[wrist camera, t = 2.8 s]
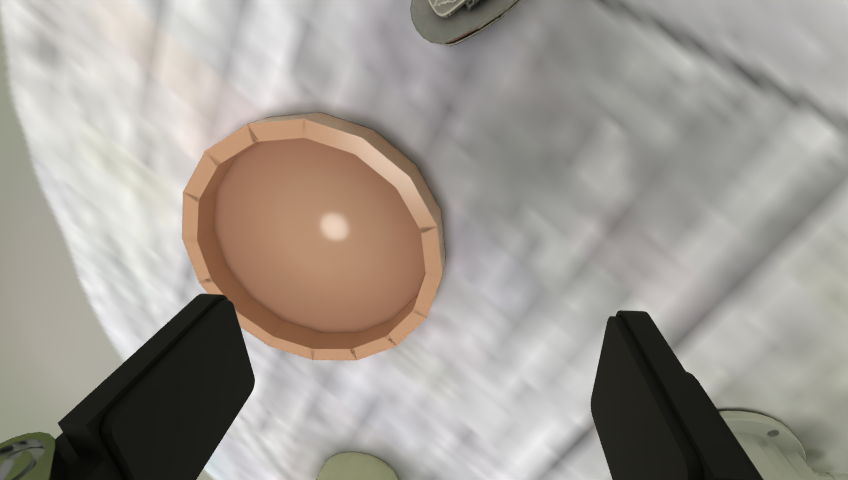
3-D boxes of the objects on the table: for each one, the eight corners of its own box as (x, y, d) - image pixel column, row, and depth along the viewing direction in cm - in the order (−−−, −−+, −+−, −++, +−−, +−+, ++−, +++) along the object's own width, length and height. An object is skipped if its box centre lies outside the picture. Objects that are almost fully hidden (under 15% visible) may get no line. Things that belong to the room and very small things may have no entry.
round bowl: (431, 101, 27) (425, 107, 25) (452, 337, 36) (450, 360, 33) (171, 126, 31) (141, 133, 28) (246, 338, 39) (228, 359, 36)
